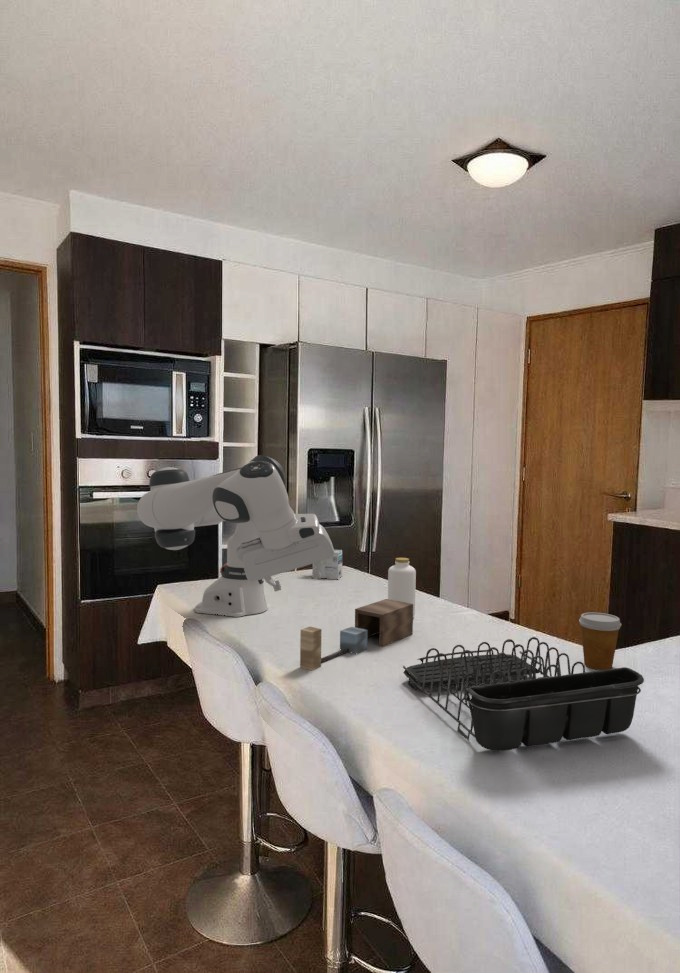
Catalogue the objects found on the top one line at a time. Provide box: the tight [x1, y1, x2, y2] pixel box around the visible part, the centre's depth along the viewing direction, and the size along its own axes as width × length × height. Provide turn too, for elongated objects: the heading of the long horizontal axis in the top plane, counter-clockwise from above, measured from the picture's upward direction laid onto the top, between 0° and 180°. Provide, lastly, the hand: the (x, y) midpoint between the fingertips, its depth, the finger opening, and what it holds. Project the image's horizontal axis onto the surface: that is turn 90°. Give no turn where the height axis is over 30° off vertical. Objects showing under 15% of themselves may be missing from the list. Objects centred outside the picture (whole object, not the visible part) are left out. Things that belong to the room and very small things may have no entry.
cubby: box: [354, 598, 414, 648], centre depth 182 cm, size 15×9×8 cm, turn 142°
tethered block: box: [299, 626, 368, 671], centre depth 165 cm, size 21×5×9 cm, turn 142°
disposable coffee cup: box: [578, 612, 622, 671], centre depth 161 cm, size 10×10×12 cm
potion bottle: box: [387, 557, 417, 618], centre depth 203 cm, size 8×8×18 cm
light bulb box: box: [311, 549, 343, 580], centre depth 261 cm, size 11×7×11 cm, turn 77°
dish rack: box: [402, 636, 645, 752], centre depth 136 cm, size 34×44×12 cm
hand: (298, 583), depth 151 cm, fingers open, 8 cm apart
